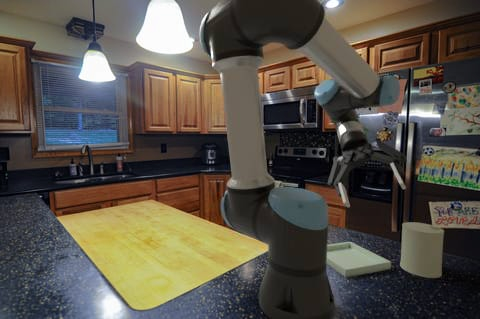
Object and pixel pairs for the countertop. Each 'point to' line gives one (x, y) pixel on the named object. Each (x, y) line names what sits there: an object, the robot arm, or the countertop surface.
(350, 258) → the tray
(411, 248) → the can
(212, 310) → the countertop surface
